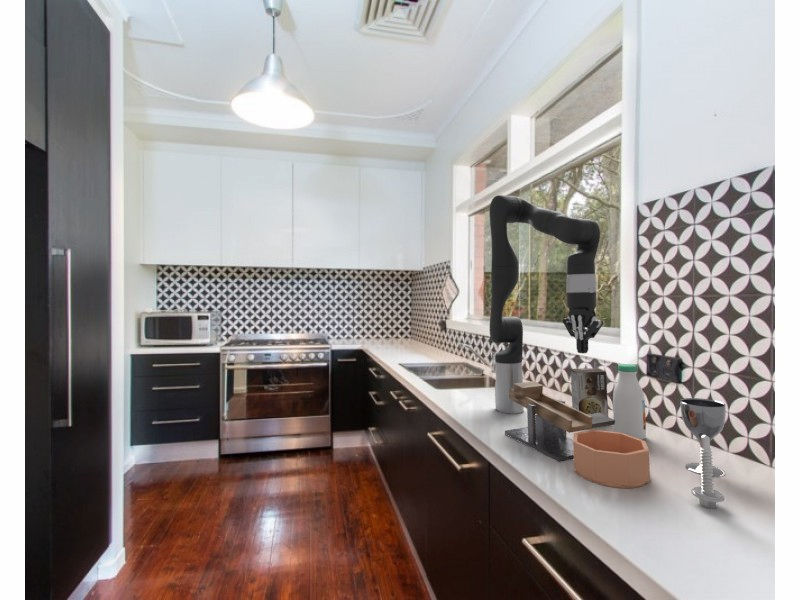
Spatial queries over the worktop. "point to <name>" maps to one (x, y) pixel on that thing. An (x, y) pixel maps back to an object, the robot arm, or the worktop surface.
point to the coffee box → (589, 390)
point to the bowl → (611, 459)
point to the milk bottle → (629, 403)
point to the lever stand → (544, 437)
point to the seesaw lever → (556, 409)
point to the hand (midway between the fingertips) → (582, 352)
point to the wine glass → (703, 423)
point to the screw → (707, 478)
